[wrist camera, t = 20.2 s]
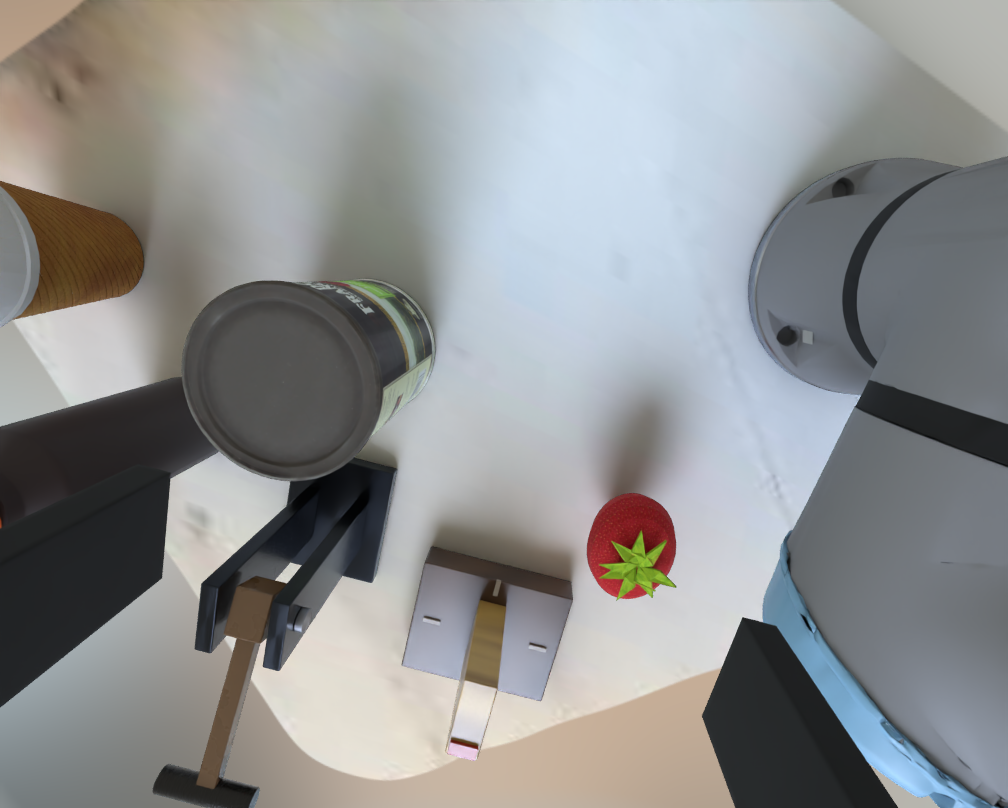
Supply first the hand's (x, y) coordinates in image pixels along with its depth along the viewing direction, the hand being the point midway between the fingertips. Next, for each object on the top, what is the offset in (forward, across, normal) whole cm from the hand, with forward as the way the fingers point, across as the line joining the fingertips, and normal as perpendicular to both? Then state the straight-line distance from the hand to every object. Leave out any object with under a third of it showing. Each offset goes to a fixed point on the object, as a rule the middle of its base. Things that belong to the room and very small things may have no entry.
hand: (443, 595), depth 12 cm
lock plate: (+29, +3, -21) cm, 36 cm away
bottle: (+29, -24, -10) cm, 39 cm away
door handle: (+15, -11, -20) cm, 27 cm away
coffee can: (+29, -11, -1) cm, 31 cm away
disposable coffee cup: (+29, -32, +1) cm, 43 cm away
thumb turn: (+26, +3, -21) cm, 34 cm away
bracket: (+29, -11, -15) cm, 34 cm away
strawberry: (+29, +11, -9) cm, 32 cm away
